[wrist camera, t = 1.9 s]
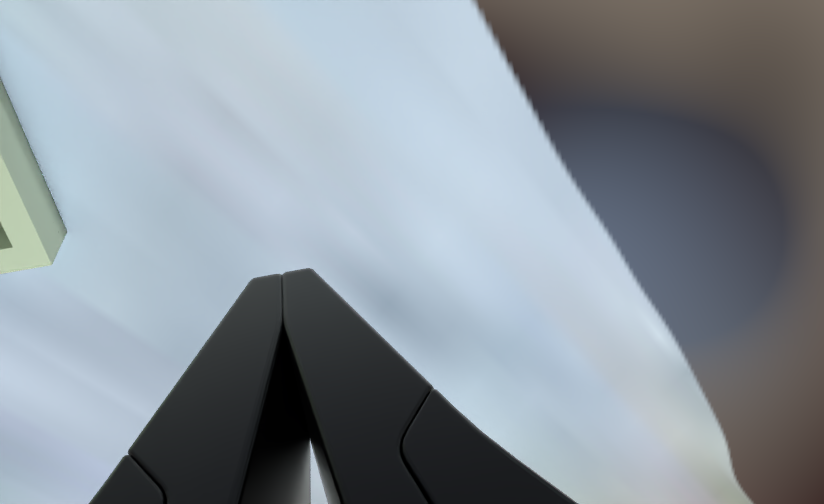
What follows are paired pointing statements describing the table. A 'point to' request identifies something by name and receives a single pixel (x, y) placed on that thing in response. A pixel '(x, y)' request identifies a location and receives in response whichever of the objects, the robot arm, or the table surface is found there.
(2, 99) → the tray
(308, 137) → the table surface
